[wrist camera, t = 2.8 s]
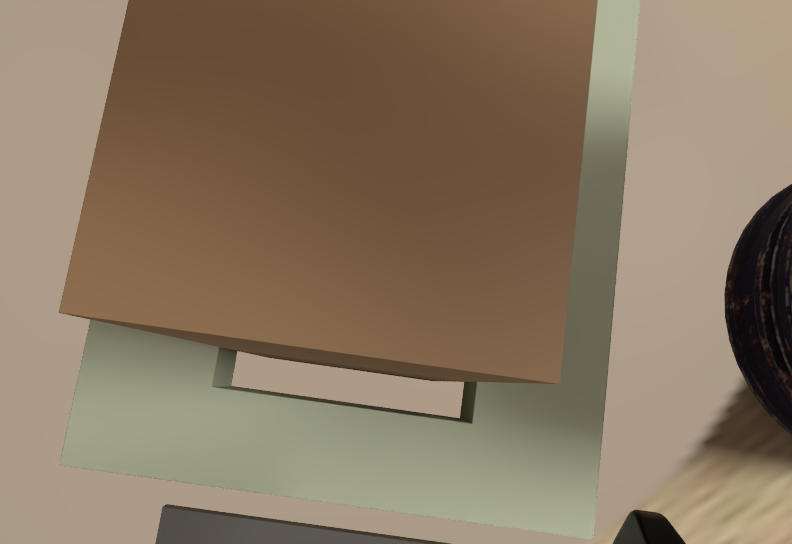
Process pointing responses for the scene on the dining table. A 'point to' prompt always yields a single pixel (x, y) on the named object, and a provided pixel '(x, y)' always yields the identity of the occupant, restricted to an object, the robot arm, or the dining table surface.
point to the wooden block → (343, 182)
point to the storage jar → (764, 306)
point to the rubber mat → (257, 530)
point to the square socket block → (383, 427)
